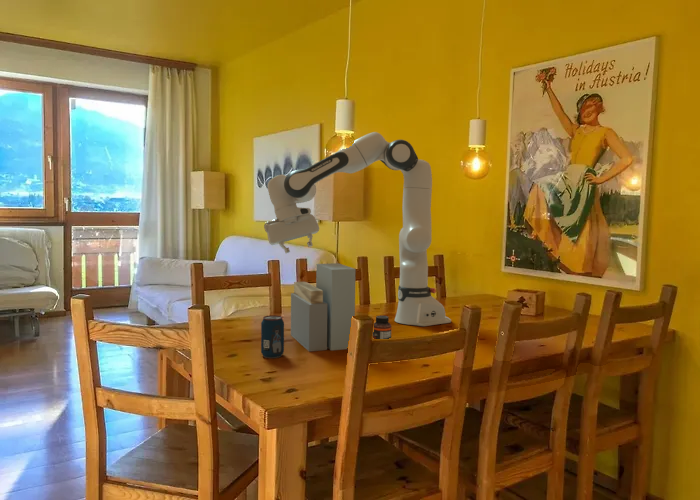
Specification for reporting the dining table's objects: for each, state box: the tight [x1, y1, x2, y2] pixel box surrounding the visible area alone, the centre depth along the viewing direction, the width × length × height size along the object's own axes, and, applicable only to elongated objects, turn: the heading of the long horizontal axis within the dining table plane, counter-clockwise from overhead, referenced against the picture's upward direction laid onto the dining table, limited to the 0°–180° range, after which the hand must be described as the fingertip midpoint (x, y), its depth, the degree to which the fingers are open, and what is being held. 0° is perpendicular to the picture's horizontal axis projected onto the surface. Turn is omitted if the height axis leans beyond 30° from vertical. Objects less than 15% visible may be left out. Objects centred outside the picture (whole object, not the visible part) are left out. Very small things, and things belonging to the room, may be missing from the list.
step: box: [290, 292, 328, 352], centre depth 187 cm, size 6×22×15 cm, turn 21°
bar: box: [293, 281, 323, 304], centre depth 186 cm, size 4×20×4 cm, turn 21°
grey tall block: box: [315, 262, 357, 351], centre depth 185 cm, size 8×16×26 cm, turn 21°
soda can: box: [260, 314, 285, 359], centre depth 170 cm, size 7×7×12 cm
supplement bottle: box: [372, 315, 392, 339], centre depth 177 cm, size 6×6×11 cm
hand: (299, 249), depth 214 cm, fingers open, 8 cm apart
